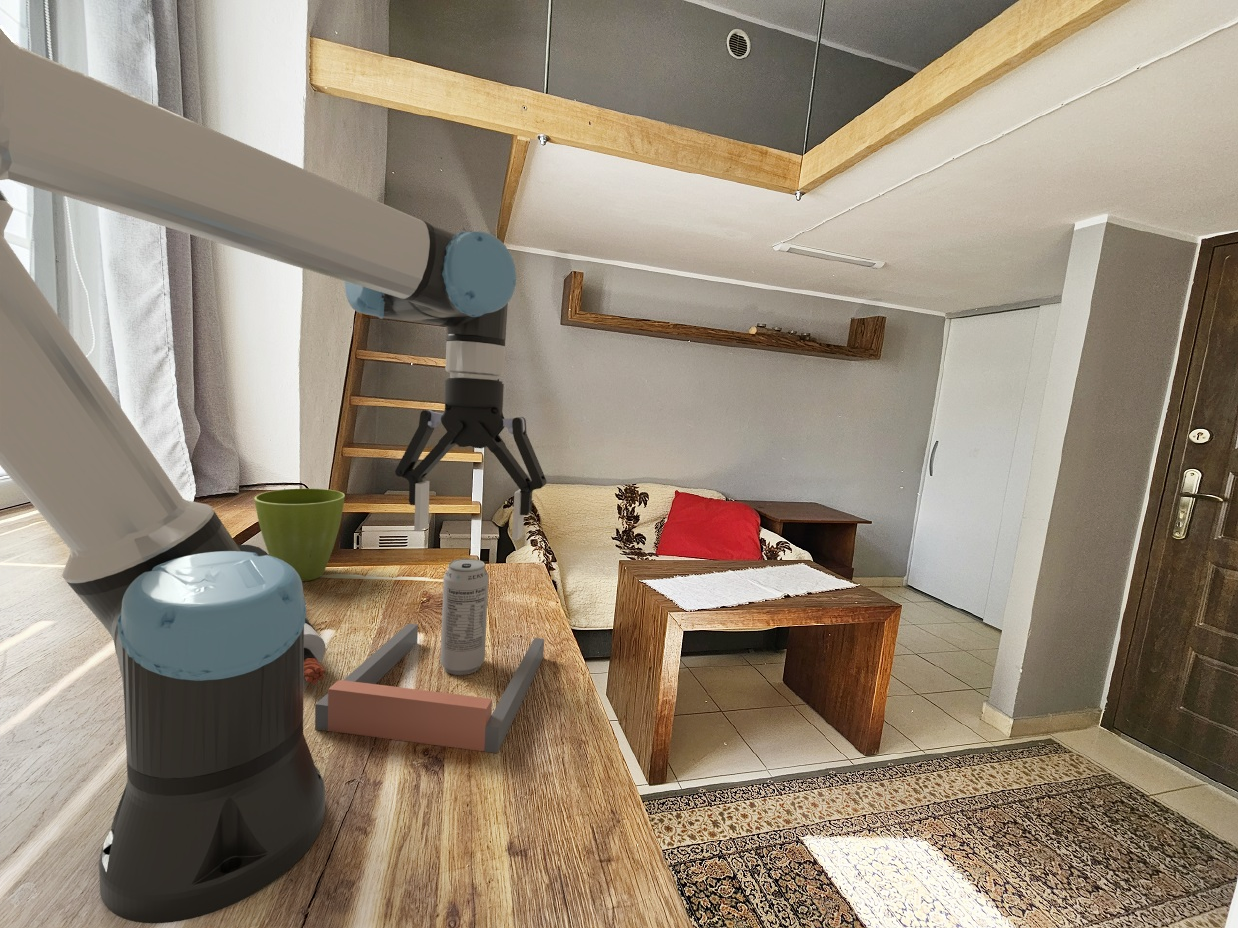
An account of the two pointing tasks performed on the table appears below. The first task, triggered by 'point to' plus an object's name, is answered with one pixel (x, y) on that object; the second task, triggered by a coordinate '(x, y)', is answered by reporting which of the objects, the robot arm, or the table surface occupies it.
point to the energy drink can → (464, 616)
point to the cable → (312, 640)
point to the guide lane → (421, 703)
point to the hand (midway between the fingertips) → (469, 533)
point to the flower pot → (300, 527)
